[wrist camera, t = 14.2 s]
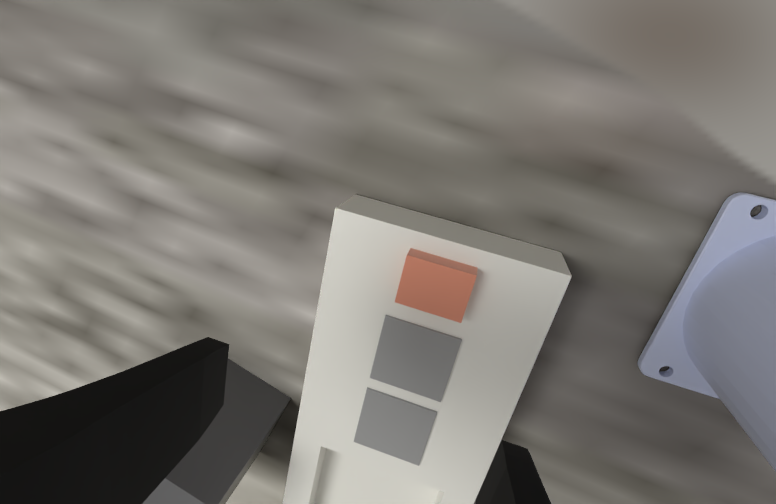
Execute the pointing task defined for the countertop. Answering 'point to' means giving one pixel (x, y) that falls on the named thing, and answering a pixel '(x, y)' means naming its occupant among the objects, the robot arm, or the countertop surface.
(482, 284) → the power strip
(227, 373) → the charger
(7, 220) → the countertop surface
